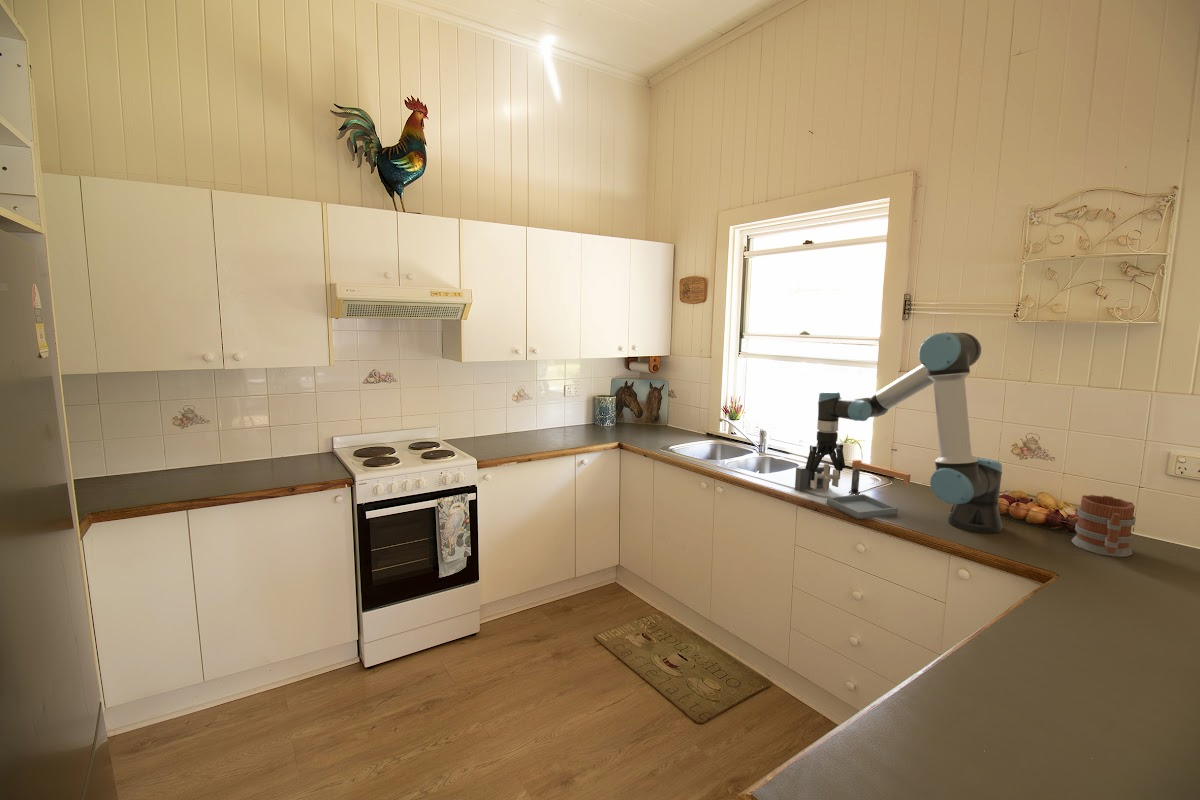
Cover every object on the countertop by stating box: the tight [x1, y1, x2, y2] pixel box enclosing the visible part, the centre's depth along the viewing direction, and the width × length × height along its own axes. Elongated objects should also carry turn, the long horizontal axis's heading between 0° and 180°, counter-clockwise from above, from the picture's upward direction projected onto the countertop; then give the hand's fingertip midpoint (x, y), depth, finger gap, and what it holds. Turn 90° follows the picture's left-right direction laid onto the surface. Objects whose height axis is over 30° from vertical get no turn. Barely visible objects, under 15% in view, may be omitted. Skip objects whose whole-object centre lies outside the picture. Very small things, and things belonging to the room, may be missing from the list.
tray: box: [825, 493, 899, 520], centre depth 206 cm, size 17×17×2 cm
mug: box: [1071, 494, 1136, 558], centre depth 170 cm, size 14×19×15 cm
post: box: [848, 468, 861, 495], centre depth 224 cm, size 4×4×10 cm
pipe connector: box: [817, 463, 841, 491], centre depth 223 cm, size 10×10×10 cm
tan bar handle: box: [851, 459, 912, 486], centre depth 215 cm, size 3×23×4 cm, turn 31°
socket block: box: [794, 464, 831, 492], centre depth 231 cm, size 3×14×9 cm, turn 107°
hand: (824, 487), depth 224 cm, fingers closed on pipe connector, 9 cm apart
